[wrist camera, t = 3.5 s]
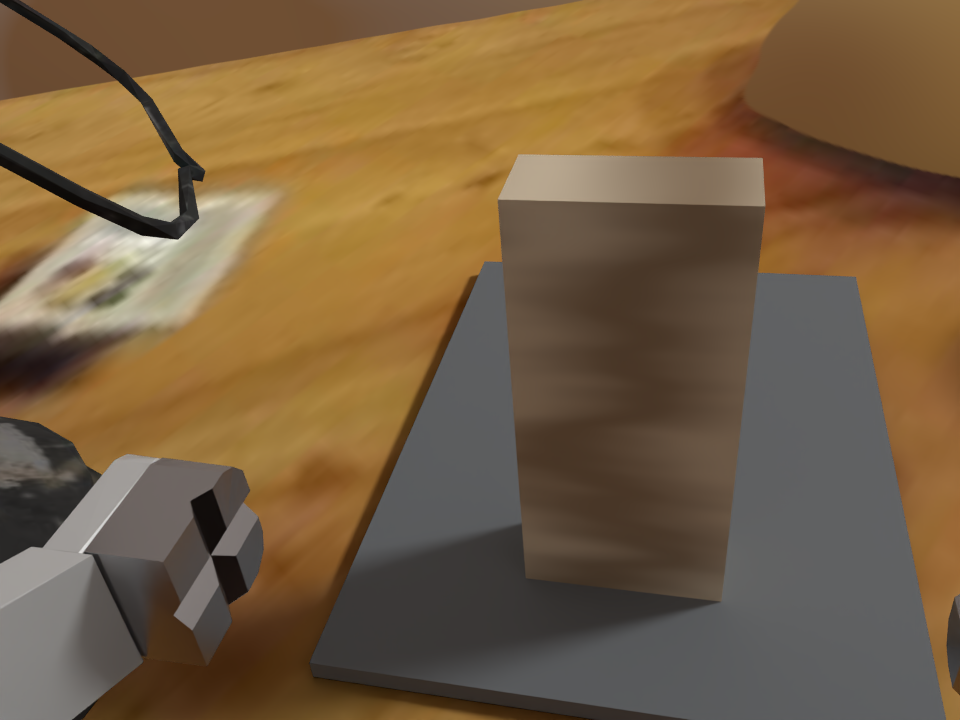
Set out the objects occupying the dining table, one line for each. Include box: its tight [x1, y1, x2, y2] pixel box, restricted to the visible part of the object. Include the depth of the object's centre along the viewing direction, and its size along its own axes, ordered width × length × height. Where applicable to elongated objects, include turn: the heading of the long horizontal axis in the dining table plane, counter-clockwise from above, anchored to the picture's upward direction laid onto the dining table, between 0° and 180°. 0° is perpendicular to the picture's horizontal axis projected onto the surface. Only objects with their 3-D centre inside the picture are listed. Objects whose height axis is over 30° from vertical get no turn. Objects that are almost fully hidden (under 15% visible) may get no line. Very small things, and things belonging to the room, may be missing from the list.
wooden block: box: [498, 155, 765, 602], centre depth 23 cm, size 6×2×12 cm, turn 77°
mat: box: [309, 262, 946, 720], centre depth 32 cm, size 16×22×1 cm
